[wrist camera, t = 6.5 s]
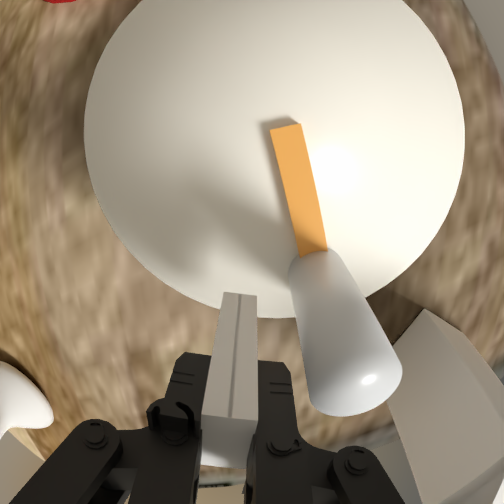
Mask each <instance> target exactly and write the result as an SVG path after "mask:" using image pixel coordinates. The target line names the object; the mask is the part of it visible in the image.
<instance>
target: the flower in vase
mask: <svg viewBox="0 0 504 504" xmlns="http://www.w3.org/2000/svg"><path fill="white" fill-rule="evenodd" d="M53 419H54V418H53V411H52V408H51V406H50V404H49V402H48V400H47V399H46V397H45V396H44V395H43V393H42V392H41V391H40V390H39V389H38V388H37V387H36V385H35V384H34V383H33V382H32V381H31V380H29V379H28V378H27V377H26V376H25V375H24V374H23V373H21V372H20V371H19V370H17V369H16V368H14V367H13V366H11V365H9V364H7V363H5V362H3V361H0V439H1V437H2V436H3V434H4V433H5V432H6V431H7V430H8V429H9V428H11V427H23V428H45V427H47V426H49V425H50V424H52V423H53Z"/></svg>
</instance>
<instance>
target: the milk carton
mask: <svg viewBox="0 0 504 504" xmlns="http://www.w3.org/2000/svg"><path fill="white" fill-rule="evenodd" d="M392 348H393V350H394V351H395V353H396V355H397V357H398V359H399V361H400V363H401V365H402V378H401V381H400V383H399V385H398V387H397V388H396V390H395V391H394V392H393V394H392V395H391V396H390V397H389V398H388V399H386V401H387V404H388V407H389V409H390V412H391V414H392V417H393V420H394V422H395V425H396V428H397V430H398V433H399V436H400V439H401V441H402V444H403V447H404V450H405V453H406V455H407V458H408V461H409V464H410V467H411V470H412V473H413V476H414V479H415V482H416V485H417V488H418V491H419V494H420V497H421V500H422V503H423V504H504V386H503V384H502V383H501V382H500V380H499V379H498V377H497V376H496V375H495V373H494V372H493V371H492V369H491V368H490V367H489V365H488V364H487V363H486V361H485V360H484V359H483V357H482V356H481V355H480V353H479V352H478V351H477V350H476V348H475V347H474V346H473V345H472V343H471V342H470V341H469V340H468V338H467V337H466V336H465V335H464V334H463V333H462V332H461V331H459V330H458V329H456V328H455V327H453V326H452V325H450V324H449V323H447V322H445V321H444V320H442V319H441V318H439V317H438V316H436V315H435V314H433V313H431V312H430V311H428V310H427V309H423V310H422V311H421V313H420V314H419V315H418V316H417V318H416V319H415V320H414V321H413V323H412V324H411V325H410V326H409V327H408V329H407V330H406V331H405V332H404V333H403V335H402V336H401V337H400V338H399V339H398V340H397V342H396V343H395V344H394V345H393V346H392Z"/></svg>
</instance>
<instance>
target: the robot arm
mask: <svg viewBox="0 0 504 504" xmlns="http://www.w3.org/2000/svg"><path fill="white" fill-rule="evenodd" d="M146 413H147V419H148V425H149V426H148V427H145V428H142V429H136V430H116V428H115V427H114V426H113V425H111V424H110V423H109V422H107V421H103V420H101V419H90V420H87V421H83V422H82V423H80V424H79V425H78V426H76V428H75V429H74V430H73V431H72V432H71V433H70V434H69V435H68V437H67V438H66V439H65V440H64V441H63V442H62V443H61V444H60V446H59V447H58V448H57V449H56V450H55V451H54V452H53V453H52V455H51V456H50V457H49V458H48V459H47V460H46V461H45V463H44V464H43V465H42V466H41V467H40V468H39V469H38V471H37V472H36V473H35V474H34V475H33V476H32V477H31V479H30V480H29V481H28V482H27V483H26V484H25V486H24V487H23V488H22V489H21V490H20V491H19V492H18V494H17V495H16V496H15V497H14V498H13V500H12V501H11V502H10V503H9V504H124V502H125V501H126V499H127V498H128V496H129V494H130V493H131V494H130V498H129V502H128V504H196V499H197V492H198V485H199V471H200V464H202V465H210V466H218V467H227V468H238V469H246V466H247V470H246V481H245V485H244V488H243V491H242V494H244V504H405V503H404V501H403V499H402V498H401V496H400V495H399V493H398V491H397V490H396V488H395V486H394V485H393V483H392V481H391V480H390V478H389V477H388V475H387V473H386V472H385V470H384V469H383V467H382V465H381V464H380V462H379V460H378V459H377V457H376V456H375V455H374V454H373V453H372V452H371V451H370V450H368V449H366V448H364V447H359V446H348V447H345V448H343V449H341V450H339V451H338V453H335V452H331V451H327V450H323V449H319V448H316V447H313V446H312V445H310V444H308V443H307V442H306V441H305V440H304V439H303V438H302V437H301V435H300V434H299V431H298V428H297V420H296V412H295V404H294V396H293V389H292V381H291V374H290V371H289V370H288V369H287V367H286V366H285V364H284V363H283V362H272V361H260V360H258V347H257V296H255V295H247V294H239V293H230V292H224V293H223V298H222V303H221V308H220V314H219V319H218V324H217V330H216V335H215V340H214V346H213V351H212V356H209V355H202V354H195V353H188V352H184V353H183V354H182V355H181V356H180V357H179V358H178V359H177V360H176V362H175V366H174V369H173V373H172V375H171V378H170V382H169V385H168V388H167V391H166V394H165V398H162V399H158V400H157V401H155V402H153V403H152V404H150V406H149V408H148V409H147V411H146Z"/></svg>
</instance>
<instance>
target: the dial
mask: <svg viewBox="0 0 504 504" xmlns="http://www.w3.org/2000/svg"><path fill="white" fill-rule="evenodd" d="M84 145H85V155H86V163H87V167H88V171H89V175H90V179H91V183H92V187H93V190H94V192H95V195H96V197H97V200H98V202H99V205H100V207H101V209H102V211H103V213H104V215H105V217H106V218H107V220H108V222H109V224H110V226H111V227H112V229H113V231H114V232H115V233H116V235H117V236H118V238H119V239H120V240H121V242H122V243H123V244H124V245H125V247H126V248H127V249H128V251H129V252H130V253H131V254H132V255H133V256H134V257H135V258H136V259H137V260H138V261H139V262H140V263H141V264H142V265H143V266H144V267H145V268H146V269H147V270H149V271H150V272H151V273H152V274H154V275H155V276H156V277H157V278H159V279H160V280H161V281H162V282H164V283H165V284H167V285H169V286H170V287H172V288H173V289H175V290H177V291H178V292H180V293H182V294H183V295H185V296H187V297H189V298H192V299H194V300H196V301H198V302H200V303H203V304H205V305H207V306H210V307H214V308H217V309H220V308H221V303H222V298H223V293H224V292H230V293H239V294H247V295H255V296H257V317H263V318H292V317H296V323H297V328H298V334H299V339H300V345H301V350H302V356H303V362H304V368H305V374H306V379H307V385H308V391H309V398H310V401H311V403H312V405H313V406H314V407H315V408H316V409H317V410H318V411H320V412H322V413H324V414H327V415H331V416H351V415H356V414H360V413H363V412H366V411H368V410H371V409H373V408H375V407H376V406H378V405H380V404H381V403H383V402H384V401H385V400H386V399H388V398H389V397H390V396H391V395H392V394H393V392H394V391H395V390H396V388H397V387H398V385H399V383H400V381H401V378H402V365H401V363H400V361H399V359H398V357H397V355H396V353H395V351H394V350H393V348H392V346H391V344H390V342H389V340H388V338H387V336H386V335H385V333H384V331H383V329H382V327H381V326H380V324H379V322H378V320H377V318H376V317H375V315H374V313H373V311H372V309H371V308H370V306H369V304H368V302H367V301H366V299H365V297H367V296H369V295H371V294H372V293H374V292H376V291H377V290H379V289H381V288H382V287H384V286H386V285H387V284H388V283H390V282H391V281H392V280H394V279H395V278H396V277H397V276H399V275H400V274H401V273H402V272H404V271H405V270H406V269H407V268H408V267H409V266H410V265H411V264H412V263H413V262H414V261H415V260H416V259H417V258H418V257H419V256H420V255H421V254H422V252H423V251H424V250H425V248H426V247H427V246H428V245H429V243H430V242H431V241H432V239H433V238H434V237H435V235H436V233H437V232H438V230H439V228H440V227H441V225H442V223H443V221H444V220H445V218H446V216H447V214H448V211H449V209H450V207H451V204H452V202H453V199H454V197H455V194H456V191H457V187H458V184H459V180H460V176H461V172H462V165H463V157H464V146H465V127H464V118H463V110H462V103H461V99H460V95H459V92H458V88H457V84H456V81H455V78H454V75H453V73H452V71H451V68H450V66H449V63H448V61H447V59H446V57H445V55H444V53H443V51H442V50H441V48H440V46H439V44H438V43H437V41H436V39H435V38H434V36H433V35H432V33H431V32H430V31H429V29H428V28H427V27H426V26H425V24H424V23H423V22H422V20H421V19H420V18H419V17H418V16H417V15H416V14H415V13H414V12H413V11H412V10H411V9H410V8H409V7H408V6H407V5H406V4H405V3H404V2H403V1H402V0H142V1H141V2H140V3H139V4H138V5H137V6H136V7H135V8H134V9H133V10H132V11H131V12H130V13H129V15H128V16H127V17H126V18H125V19H124V20H123V21H122V23H121V24H120V25H119V27H118V28H117V30H116V31H115V33H114V34H113V36H112V37H111V39H110V40H109V42H108V43H107V45H106V47H105V49H104V51H103V53H102V55H101V57H100V59H99V62H98V64H97V66H96V69H95V72H94V75H93V78H92V81H91V84H90V87H89V91H88V97H87V102H86V108H85V116H84Z"/></svg>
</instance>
